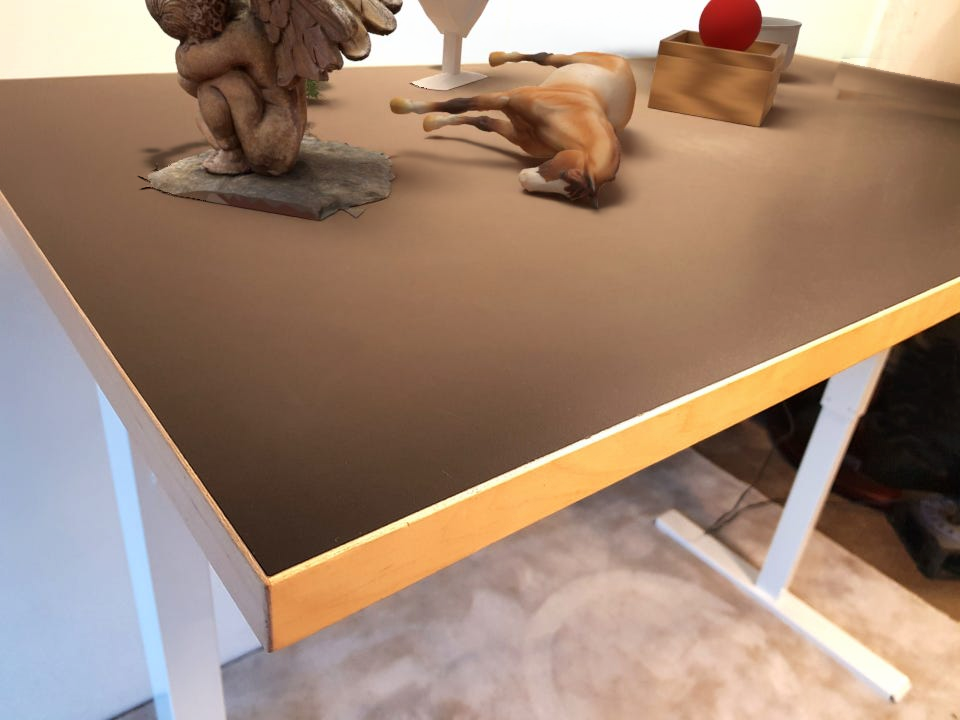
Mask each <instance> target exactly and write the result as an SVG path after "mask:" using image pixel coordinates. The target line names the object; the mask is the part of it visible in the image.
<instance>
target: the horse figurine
mask: <svg viewBox="0 0 960 720" xmlns="http://www.w3.org/2000/svg"><path fill="white" fill-rule="evenodd" d="M521 62H528V63H529V62H530V63H531V62H532V63H535V64H537V65H539V66H542V67H549V66H550V67H554V68H556V69H555V70H554V71H552V73H551V74H550V75H549V76H548V77H547V78H546V79H545V81H543V82H542V83H541V84H540V85H539V86H535V85H522V86H518V87H516V88H513V89H511V90H509V91H507V92H505V91H502V92H491V93H485V94H480V95H475V96H472V97H454V98H451V99H449V100H445V101H421V100H416V101H414V102H413V101H412V99H411V98H406V97H403V96H395V97H392V99H390V101H389V108H390V112H392V113H393V114H394V115H408V114H412V113H415V114H416V115H425V114H429V113H447V114H450V115H448V116H442V115H435V116H434V115H433V116H432V115H426V116H425V117H424V118H423V121H422V128H423V131H424V132H426V133H429V132H432V131H435V130H439V129H441V128H443V127H447V126H454V127H455V126H456V127H457V126H461V125H467V126H473V127H475V128H476V129H477V130H479V131H482V132H486V133H496V134H498V135H500V136H501V137H503V138H504V139H506V140H507V141H508V142H510V143H511V144H513V145H515V146H517V147H519V148H520V149H521V150H522V152H525V153H526V154H528V155H530V156H531V157H533V158H537V159H548V158H551V159H549V160H547V161H545V162H543V163H541V164H540V165H537V167H530V168H529V167H528V168H523V169H521V170H520V171H519V172H520V173H518V176H517V178H518V181H519V183H520V185H521V188H523V189H525V190H527V191H528V192H529V193H532V192H536V191H547V192H548V191H549V192H554V193H558V194H560V195H561V196H564V197H565V198H567V199H568V200H569V201H571V202H572V201H575V200H576V199H580V198H582V197H584V196H588V197H589V198H590V200H591V202H592V205H593V206H594V208H595V209H598V208H599V194H600V190H601V189H602V187H603V186H605V185H606V184H608V183H612V182H614V181H615V180H616V176H617V173H618V171H619V169H620V166H621V165H620V164H621V156H622V149H621V145H620V144H621V143H620V141H619V138H618V137H617V134H619V133H621V132H622V131H623V130H624V129H625V128H626V127H627V126H628V124H629V123H630V121H631V119H632V116H633V113H634V109H635V103H636V98H637V97H636V96H637V83H636V78H635V75H634V72H633V70H632V67H631V66H630V64H629V62H628V61H627V60H626V59H625V57H623V56H621V55H618V54H613V53H607V52H600V51H599V52H598V51H578V52H575V53H572V54H565V53H555V54H554V53H553V52H549V53H548V52H545V51H541V52H537V53H530V54H527V53H520V52H518V51H511V52H509V53H507V52H505V51H492V52H490V53H489V55H488V65H489V66H490V67H491V68H495V67H500V66H502V65H505V64H507V63H513V64H517V63H521ZM474 111H475V112H478V113H479V112H480V113H482V112H489V111H499V112H501V113H503V114H504V115H505V116H506V118H507V119H509V120H505V119H501V118H495V117H490V116H488V115H479V116H467V115H462V114H464V113H467V112H474Z"/></svg>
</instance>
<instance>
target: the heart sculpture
mask: <svg viewBox="0 0 960 720" xmlns="http://www.w3.org/2000/svg"><path fill="white" fill-rule="evenodd" d="M417 1H418V3H419V5H420V6H421V8H422V11H423V12H424V14H425V15H426V18H428V20H430V22H431V24H433V25H434V27H435V28H436V29H437V31H438V32H439V34H440V35H443V44H442V45H443V46H442V61H441V62H442V63H441V73H438V74H435V75H431V76H428V77H427V76H426V77H424V78H420V79H418V80H414V81H411V82H412V83H413V84H415V85H418V86H419V87H418V86H417V87H418V88H421V87H424V88H423V89H426V88H427V90H435V91H448V90H451V89H455V88H458V87H462V86H464V85H467V84H471V83H474V82H477V81H480V80H483V79H486V78H489V76H488V75H485V74H482V73H479V72H476V71H475V72H474V71H466V70H461V65H462V51H463V39H467V37H468V36H469V34H470V33H471V31H472V29H473V28H474V26H476V24H477V22H478V21H479V19H480V17H481V16H482V14H483V13H484V11H485V9H486V7H487V5H488V3H489V1H490V0H417ZM415 85H414V86H415Z"/></svg>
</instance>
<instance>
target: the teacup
mask: <svg viewBox="0 0 960 720" xmlns="http://www.w3.org/2000/svg"><path fill="white" fill-rule="evenodd" d="M802 26H803V23H802V22H801V21H799V20H794V19H789V18H783V17H774V16H762V26H761V30H760V33H759V35H758V37H757V39H756V40H760V41H767V42H774V43H781V44H788V48H787V52H786V56H785V59H784V63H783V67H782V71H781V73H782V72H783V71H785V70H786V69H788V68H789V66H790V65H791V63H792V61H793V58H794V55H795V52H796V48H797V44H798V40H799V34H800V31H801V28H802Z"/></svg>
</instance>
